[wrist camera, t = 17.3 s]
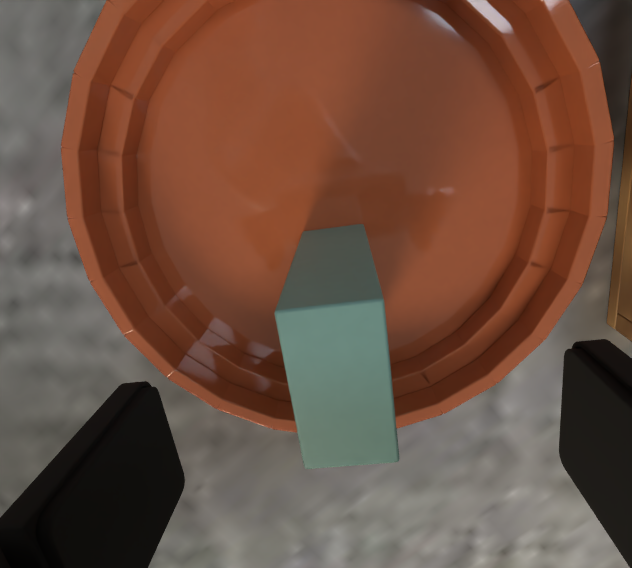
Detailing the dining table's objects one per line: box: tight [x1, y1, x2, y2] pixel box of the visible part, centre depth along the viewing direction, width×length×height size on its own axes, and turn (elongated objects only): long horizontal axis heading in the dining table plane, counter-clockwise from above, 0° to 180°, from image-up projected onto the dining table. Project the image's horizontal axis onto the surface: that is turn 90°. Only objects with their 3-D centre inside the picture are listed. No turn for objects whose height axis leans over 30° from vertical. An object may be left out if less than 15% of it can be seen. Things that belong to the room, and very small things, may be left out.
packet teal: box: [274, 224, 399, 469], centre depth 14 cm, size 5×2×8 cm, turn 8°
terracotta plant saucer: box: [61, 0, 614, 433], centre depth 16 cm, size 18×18×3 cm
